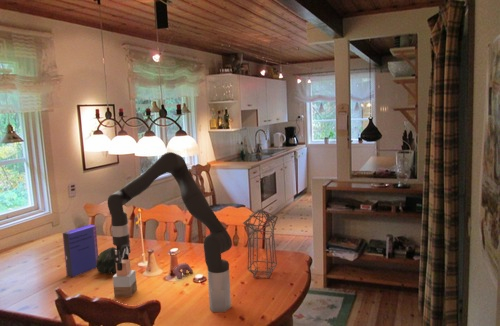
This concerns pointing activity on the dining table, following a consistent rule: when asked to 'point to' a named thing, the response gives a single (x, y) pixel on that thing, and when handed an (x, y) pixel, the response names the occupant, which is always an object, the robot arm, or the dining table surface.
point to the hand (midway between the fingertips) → (123, 266)
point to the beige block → (124, 268)
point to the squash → (106, 262)
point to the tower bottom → (125, 291)
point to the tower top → (124, 279)
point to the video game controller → (184, 268)
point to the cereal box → (80, 250)
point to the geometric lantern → (261, 238)
